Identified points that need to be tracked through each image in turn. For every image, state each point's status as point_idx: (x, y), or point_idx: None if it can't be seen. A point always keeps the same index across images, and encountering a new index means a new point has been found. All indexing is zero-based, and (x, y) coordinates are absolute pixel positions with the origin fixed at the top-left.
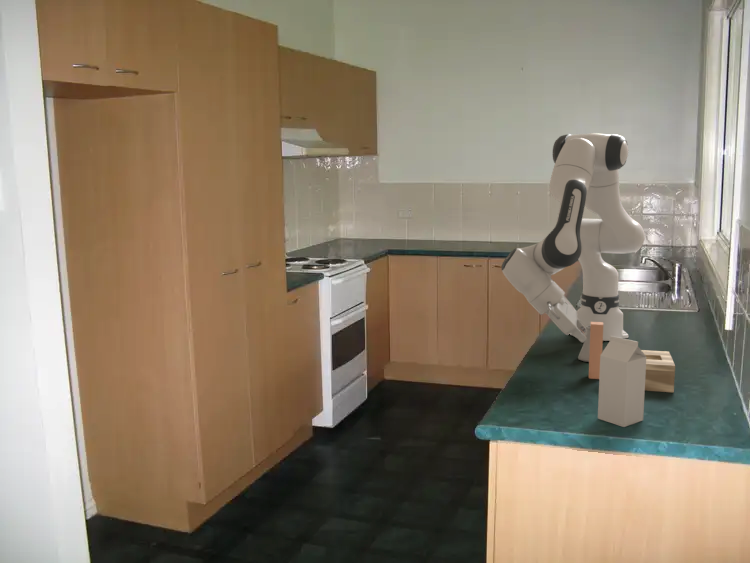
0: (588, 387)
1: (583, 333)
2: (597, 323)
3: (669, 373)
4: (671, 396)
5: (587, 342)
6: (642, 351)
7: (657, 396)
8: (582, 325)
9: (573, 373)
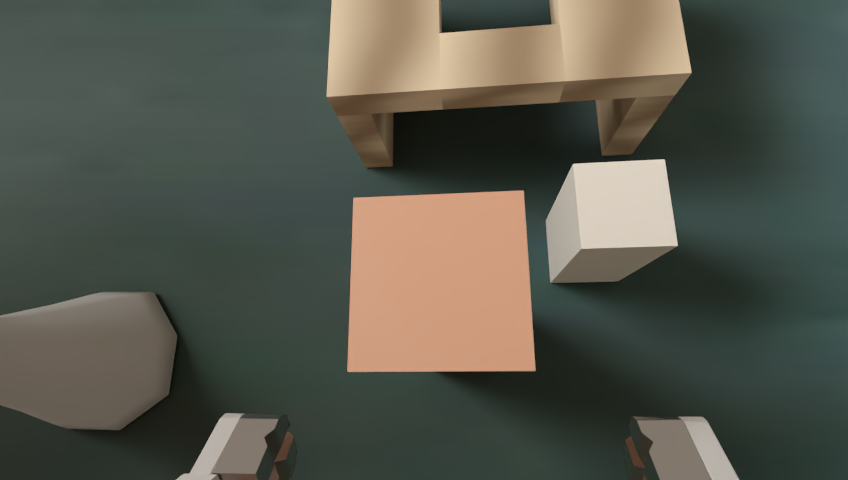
0: (676, 369)
1: (292, 442)
2: (458, 270)
3: None
4: None
5: (44, 380)
6: (365, 27)
7: (699, 53)
8: (217, 475)
9: (415, 458)
